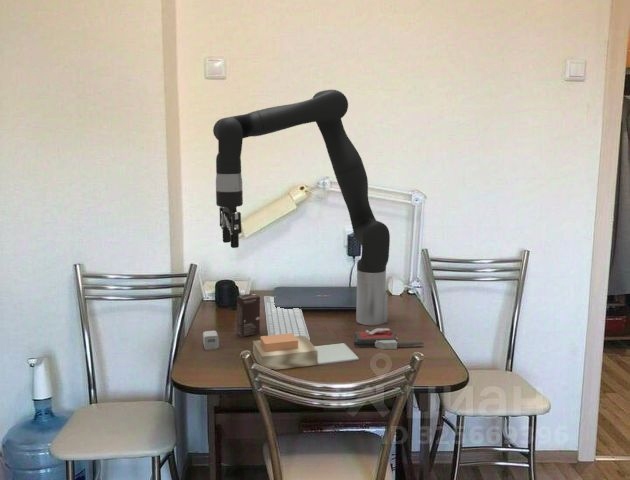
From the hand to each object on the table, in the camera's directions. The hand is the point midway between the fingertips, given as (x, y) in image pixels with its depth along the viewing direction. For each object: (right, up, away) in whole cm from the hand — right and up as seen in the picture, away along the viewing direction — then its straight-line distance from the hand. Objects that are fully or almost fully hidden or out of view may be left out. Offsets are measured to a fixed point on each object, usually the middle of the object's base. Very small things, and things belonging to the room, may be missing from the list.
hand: (230, 244), depth 175 cm
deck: (+16, -31, -11) cm, 37 cm away
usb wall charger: (-6, -29, 0) cm, 30 cm away
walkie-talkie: (+46, -29, +1) cm, 54 cm away
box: (+4, -27, +9) cm, 29 cm away
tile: (+15, -27, -12) cm, 33 cm away
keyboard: (+15, -25, +24) cm, 37 cm away
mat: (+29, -30, -7) cm, 43 cm away
